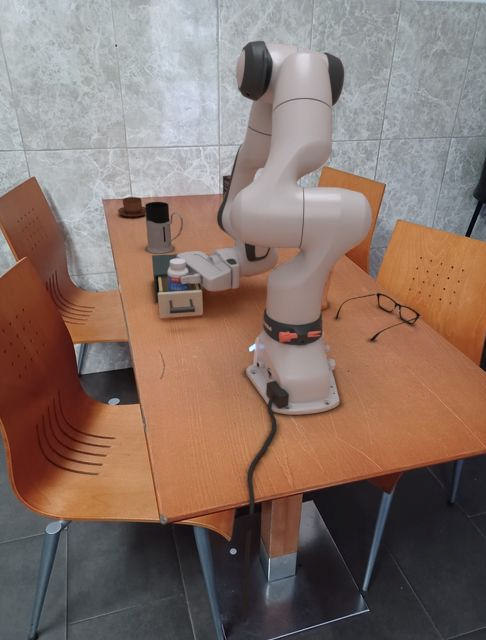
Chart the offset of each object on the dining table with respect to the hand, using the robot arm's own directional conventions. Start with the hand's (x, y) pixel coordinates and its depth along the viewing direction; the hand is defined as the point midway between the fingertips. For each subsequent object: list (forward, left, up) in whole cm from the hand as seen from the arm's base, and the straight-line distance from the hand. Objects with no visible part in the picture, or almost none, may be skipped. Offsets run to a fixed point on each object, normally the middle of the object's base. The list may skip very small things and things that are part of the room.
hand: (174, 275), depth 127 cm
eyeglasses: (-15, -50, -10) cm, 53 cm away
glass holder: (+45, 0, -10) cm, 46 cm away
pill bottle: (0, -1, -6) cm, 6 cm away
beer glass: (-3, -38, -10) cm, 39 cm away
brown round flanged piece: (+88, +11, -10) cm, 90 cm away
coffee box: (+78, -29, -10) cm, 84 cm away
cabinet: (+12, -1, -10) cm, 16 cm away
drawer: (-2, -1, -9) cm, 9 cm away
